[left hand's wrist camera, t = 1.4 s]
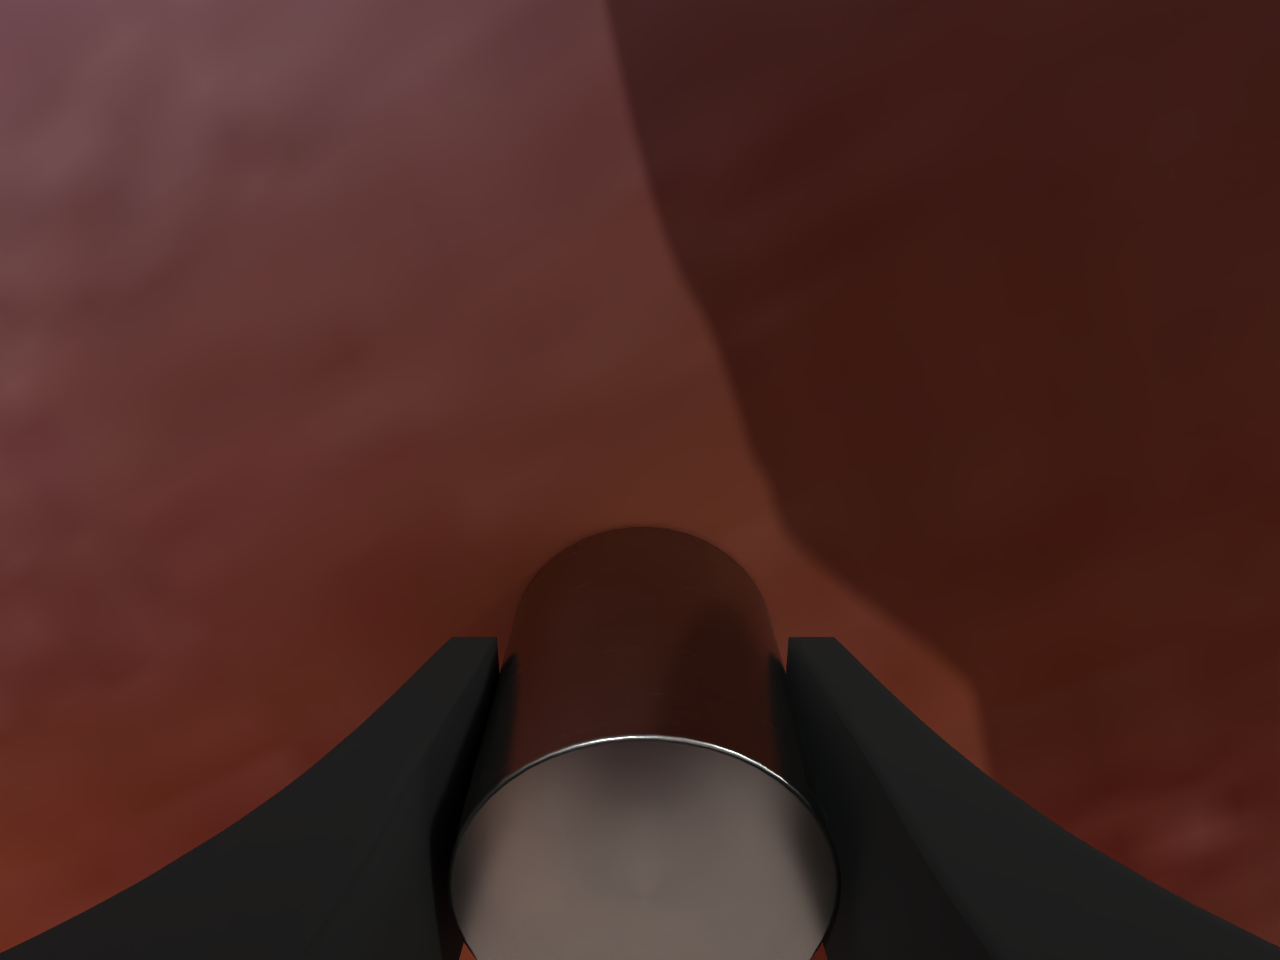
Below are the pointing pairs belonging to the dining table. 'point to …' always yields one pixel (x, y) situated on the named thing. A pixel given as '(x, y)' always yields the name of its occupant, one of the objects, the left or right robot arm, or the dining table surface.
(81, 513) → the dining table surface
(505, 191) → the dining table surface
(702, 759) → the can
